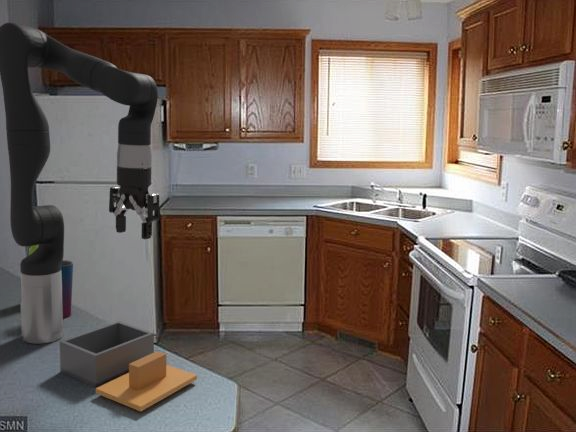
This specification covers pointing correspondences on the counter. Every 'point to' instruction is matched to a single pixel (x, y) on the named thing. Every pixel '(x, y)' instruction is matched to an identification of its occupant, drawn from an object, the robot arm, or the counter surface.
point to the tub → (104, 352)
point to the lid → (146, 382)
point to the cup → (66, 287)
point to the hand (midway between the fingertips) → (133, 235)
